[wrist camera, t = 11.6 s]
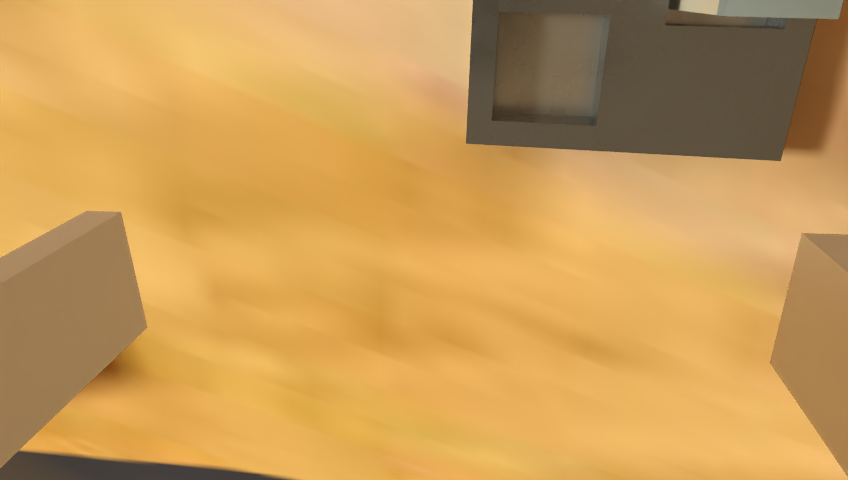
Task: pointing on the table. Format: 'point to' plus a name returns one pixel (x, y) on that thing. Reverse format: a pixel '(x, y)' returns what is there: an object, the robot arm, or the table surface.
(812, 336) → the robot arm
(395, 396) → the table surface
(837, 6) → the plug
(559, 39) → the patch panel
